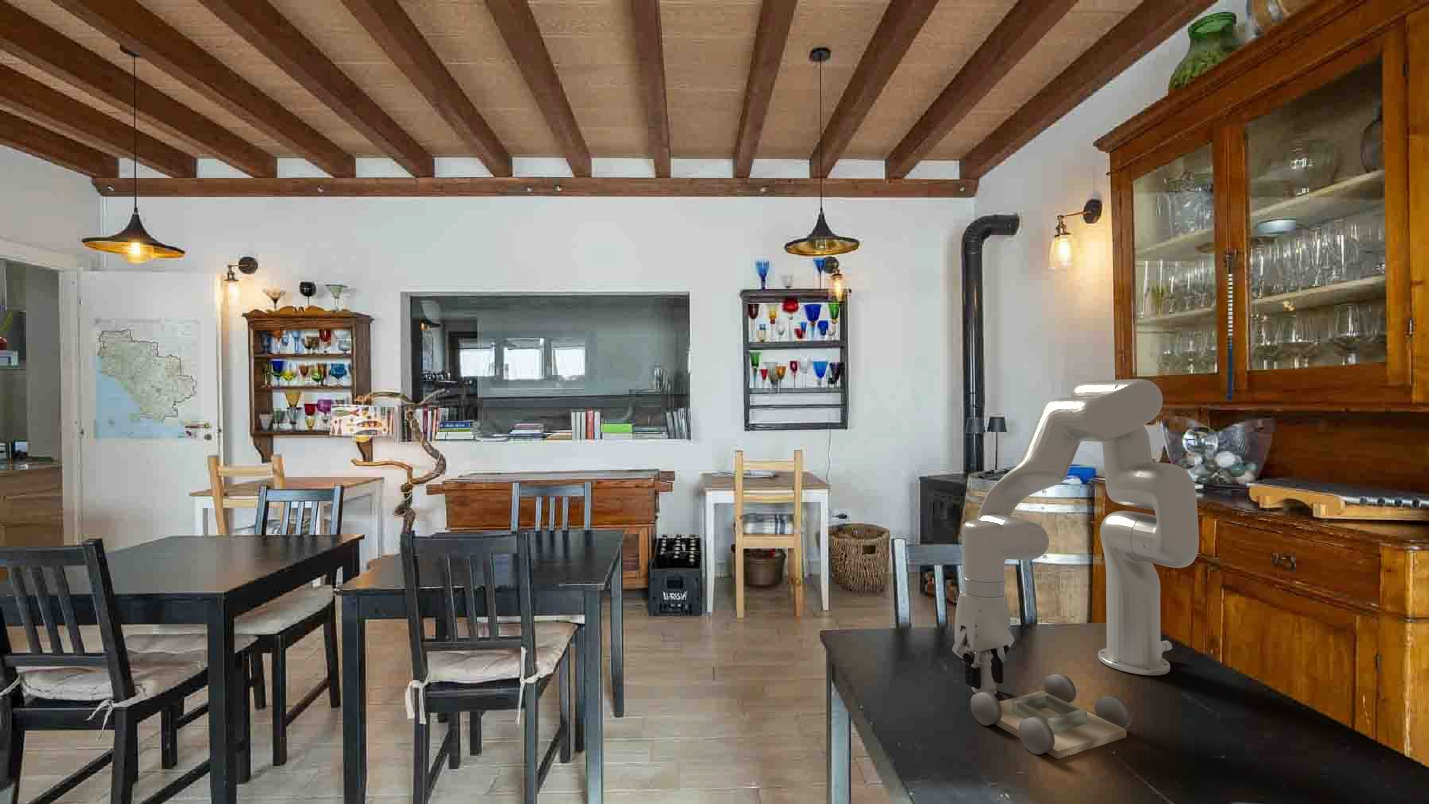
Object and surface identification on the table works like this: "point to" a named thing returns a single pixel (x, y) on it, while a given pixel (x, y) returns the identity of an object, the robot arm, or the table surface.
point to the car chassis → (1054, 718)
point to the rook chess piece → (986, 673)
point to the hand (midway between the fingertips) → (984, 682)
